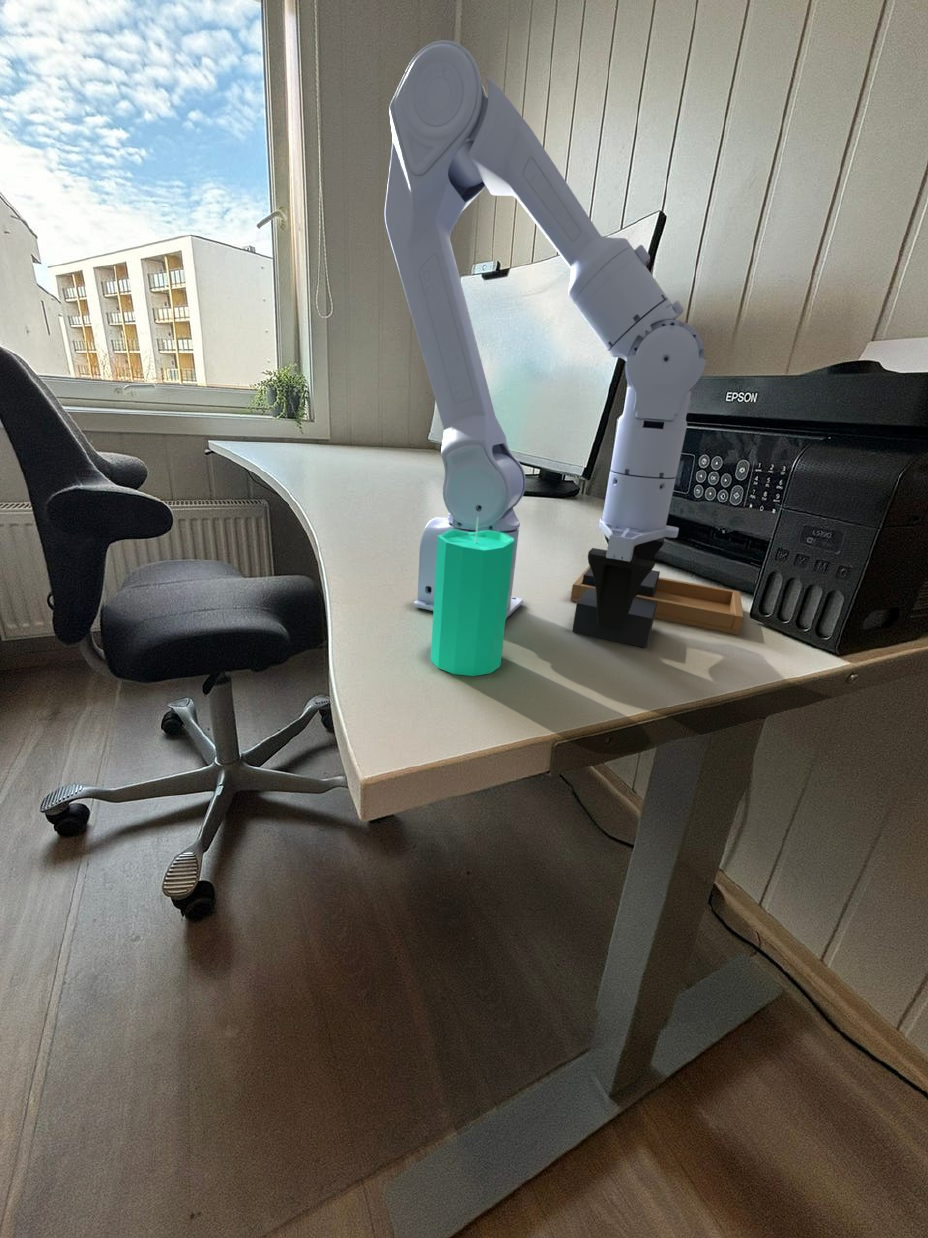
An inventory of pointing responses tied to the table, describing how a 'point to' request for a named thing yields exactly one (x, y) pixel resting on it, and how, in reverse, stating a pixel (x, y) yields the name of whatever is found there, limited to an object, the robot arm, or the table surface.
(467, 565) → the candle
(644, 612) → the pad
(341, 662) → the table surface
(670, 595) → the frame
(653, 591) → the pad
